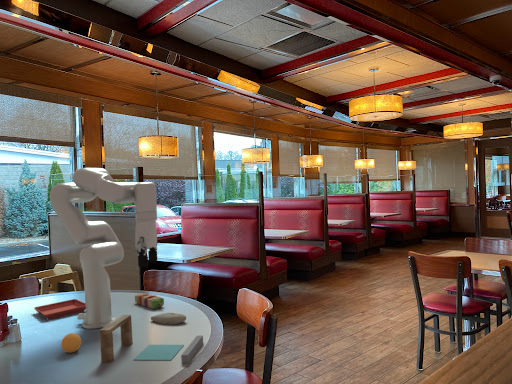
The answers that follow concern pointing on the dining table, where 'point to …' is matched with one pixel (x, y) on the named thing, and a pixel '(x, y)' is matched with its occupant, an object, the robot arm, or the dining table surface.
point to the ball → (71, 342)
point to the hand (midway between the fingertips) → (148, 264)
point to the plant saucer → (61, 309)
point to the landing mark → (159, 352)
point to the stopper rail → (191, 349)
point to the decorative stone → (169, 318)
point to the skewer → (149, 300)
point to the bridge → (107, 336)
